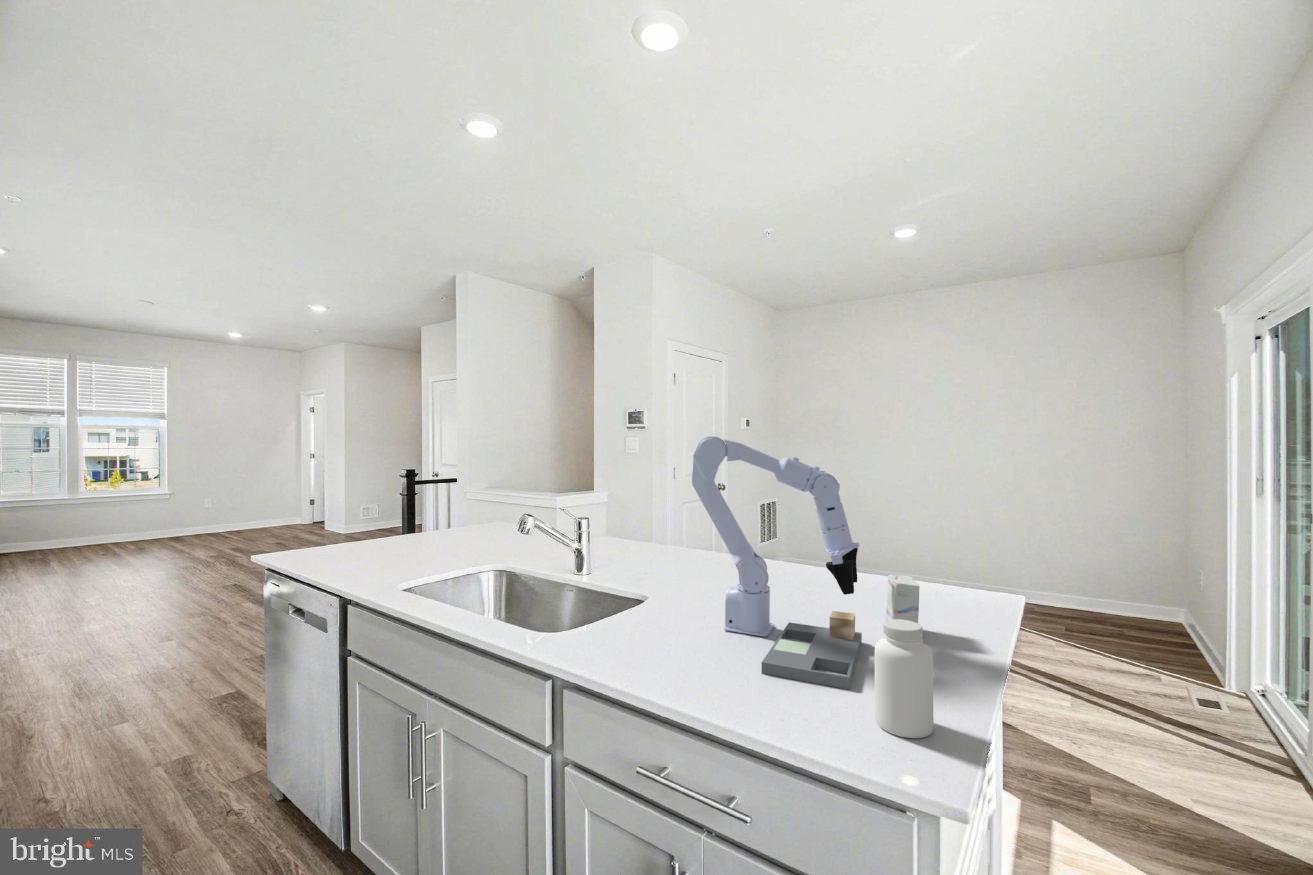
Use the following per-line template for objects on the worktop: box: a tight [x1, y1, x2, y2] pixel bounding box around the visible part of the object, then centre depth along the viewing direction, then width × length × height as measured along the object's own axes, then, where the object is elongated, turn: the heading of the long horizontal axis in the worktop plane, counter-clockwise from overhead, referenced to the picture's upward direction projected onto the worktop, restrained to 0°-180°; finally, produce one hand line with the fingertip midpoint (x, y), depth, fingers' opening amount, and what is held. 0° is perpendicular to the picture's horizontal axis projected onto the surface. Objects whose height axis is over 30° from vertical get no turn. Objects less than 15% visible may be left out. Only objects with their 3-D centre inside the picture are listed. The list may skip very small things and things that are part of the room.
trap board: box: [761, 622, 863, 690], centre depth 109 cm, size 15×24×2 cm, turn 155°
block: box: [829, 610, 856, 640], centre depth 115 cm, size 4×4×4 cm
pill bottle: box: [874, 619, 934, 739], centre depth 83 cm, size 8×8×15 cm
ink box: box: [885, 573, 920, 624], centre depth 122 cm, size 9×5×12 cm, turn 168°
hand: (850, 587), depth 121 cm, fingers open, 7 cm apart
